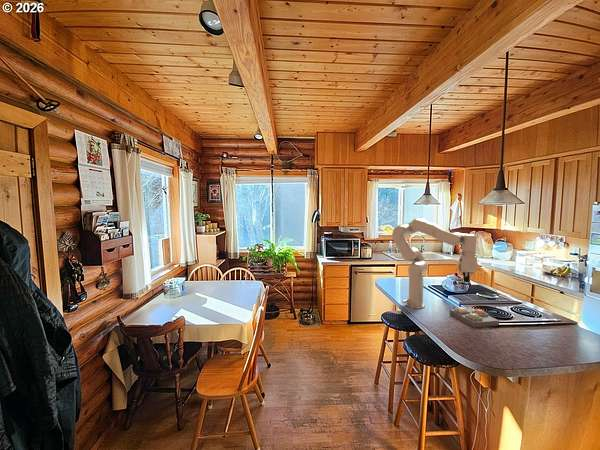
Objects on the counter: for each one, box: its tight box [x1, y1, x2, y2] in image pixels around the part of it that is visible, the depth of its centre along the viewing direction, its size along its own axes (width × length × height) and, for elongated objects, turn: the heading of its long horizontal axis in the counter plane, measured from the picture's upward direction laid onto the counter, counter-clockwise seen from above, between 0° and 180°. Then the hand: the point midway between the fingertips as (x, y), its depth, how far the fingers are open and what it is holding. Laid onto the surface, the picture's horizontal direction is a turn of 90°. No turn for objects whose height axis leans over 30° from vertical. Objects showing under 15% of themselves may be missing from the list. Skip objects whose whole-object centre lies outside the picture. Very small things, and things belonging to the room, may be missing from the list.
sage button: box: [470, 313, 478, 318], centre depth 163 cm, size 4×4×2 cm
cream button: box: [457, 306, 467, 312], centre depth 173 cm, size 4×4×2 cm
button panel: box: [449, 307, 500, 328], centre depth 169 cm, size 17×20×4 cm
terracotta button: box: [476, 308, 485, 314], centre depth 170 cm, size 4×4×2 cm
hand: (466, 282), depth 171 cm, fingers closed
